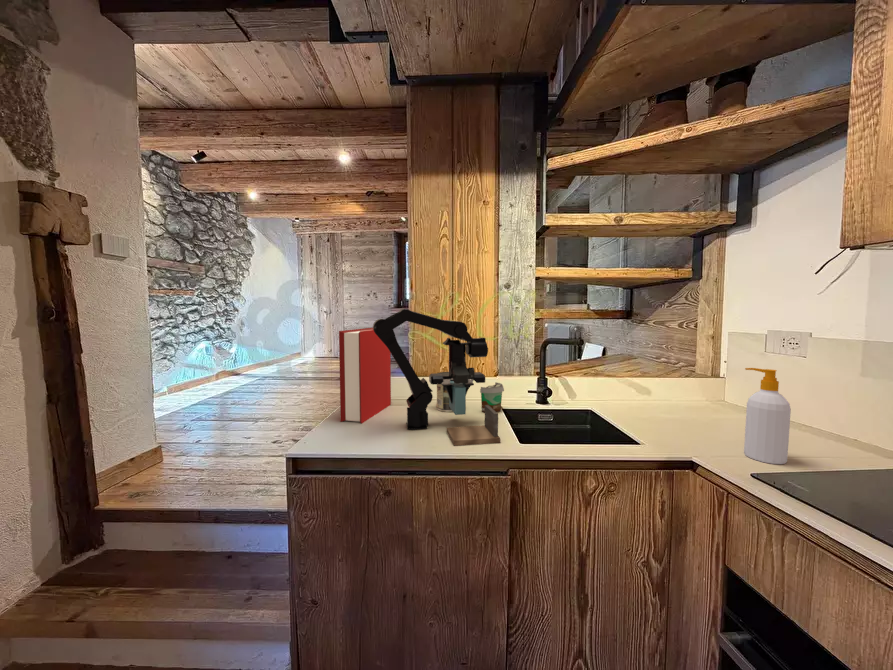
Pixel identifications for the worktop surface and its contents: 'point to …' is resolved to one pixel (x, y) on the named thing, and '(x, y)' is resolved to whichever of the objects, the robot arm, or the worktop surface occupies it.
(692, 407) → the worktop surface
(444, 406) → the coffee can
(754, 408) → the soap bottle
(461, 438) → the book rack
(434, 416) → the worktop surface
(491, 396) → the food container
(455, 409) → the teal book
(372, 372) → the book
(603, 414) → the worktop surface
